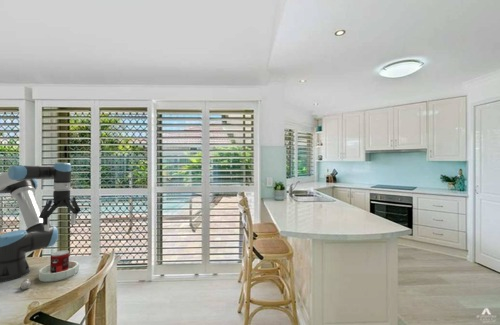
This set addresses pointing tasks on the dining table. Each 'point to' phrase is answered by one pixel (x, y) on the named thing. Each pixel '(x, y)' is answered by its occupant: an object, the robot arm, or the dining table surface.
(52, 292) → the dining table surface
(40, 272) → the bowl
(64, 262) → the canned food
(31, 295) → the dining table surface
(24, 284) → the pebble
